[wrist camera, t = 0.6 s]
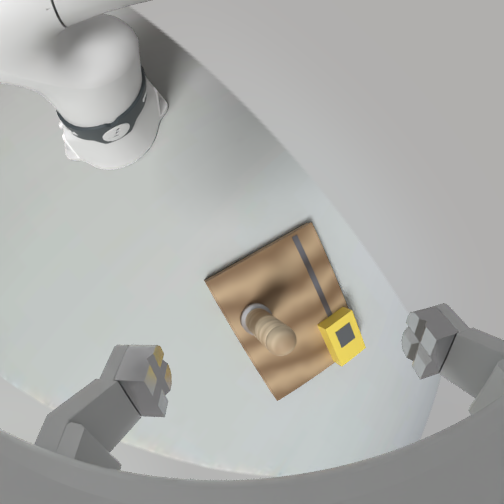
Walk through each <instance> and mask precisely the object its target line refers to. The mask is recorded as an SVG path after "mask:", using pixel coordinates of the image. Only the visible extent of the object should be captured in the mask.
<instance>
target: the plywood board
mask: <svg viewBox="0 0 504 504" xmlns="http://www.w3.org/2000/svg"><path fill="white" fill-rule="evenodd" d="M204 281H205V283H206V284H207V286H208V288H209V290H210V292H211V293H212V295H213V297H214V299H215V300H216V302H217V304H218V306H219V307H220V309H221V311H222V313H223V314H224V316H225V318H226V319H227V321H228V323H229V325H230V326H231V328H232V330H233V331H234V333H235V335H236V336H237V338H238V340H239V341H240V343H241V345H242V346H243V348H244V350H245V351H246V353H247V355H248V356H249V358H250V359H251V361H252V363H253V364H254V366H255V367H256V369H257V371H258V372H259V374H260V375H261V377H262V378H263V380H264V382H265V383H266V385H267V386H268V388H269V389H270V391H271V392H272V394H273V396H274V397H275V398H276V400H277V401H278V400H280V399H281V398H283V397H285V396H286V395H288V394H289V393H291V392H292V391H294V390H295V389H297V388H299V387H300V386H302V385H303V384H305V383H306V382H307V381H309V380H310V379H312V378H313V377H315V376H316V375H318V374H319V373H320V372H322V371H323V370H325V369H326V368H327V367H329V366H330V365H332V364H333V363H334V361H333V359H332V357H331V355H330V352H329V350H328V348H327V346H326V344H325V341H324V339H323V337H322V335H321V333H320V330H319V328H318V326H317V325H318V324H319V323H320V322H322V321H323V320H325V319H326V318H328V317H329V316H331V315H332V314H333V313H334V312H336V311H337V310H339V309H340V308H341V307H345V308H348V306H347V304H346V301H345V299H344V296H343V294H342V291H341V289H340V286H339V284H338V281H337V279H336V277H335V274H334V272H333V269H332V267H331V265H330V262H329V260H328V258H327V255H326V253H325V251H324V248H323V246H322V244H321V242H320V239H319V237H318V235H317V233H316V231H315V228H314V226H313V224H312V222H311V223H306V224H304V225H302V226H300V227H299V228H297V229H295V230H293V231H291V232H290V233H288V234H286V235H284V236H283V237H281V238H279V239H277V240H275V241H274V242H272V243H270V244H268V245H267V246H265V247H263V248H261V249H259V250H258V251H256V252H254V253H252V254H251V255H249V256H247V257H245V258H243V259H242V260H240V261H238V262H236V263H235V264H233V265H231V266H229V267H227V268H226V269H224V270H222V271H220V272H218V273H217V274H215V275H213V276H211V277H210V278H208V279H206V280H204ZM252 303H260V304H263V305H264V306H266V307H267V308H268V309H269V310H270V311H271V313H272V315H273V316H274V317H276V318H277V319H279V320H280V321H281V322H283V323H284V324H286V325H287V326H289V327H290V328H291V329H292V330H293V331H294V332H295V334H296V338H297V342H296V346H295V348H294V349H293V351H292V352H290V353H289V354H287V355H284V356H277V355H274V354H272V353H270V352H269V351H268V350H267V349H266V348H265V346H264V345H263V344H262V343H261V342H260V341H259V340H258V339H257V338H256V337H255V336H254V335H251V334H249V333H247V332H246V331H245V330H244V328H243V327H242V326H241V323H240V315H241V312H242V310H243V309H244V308H245V307H246V306H247V305H249V304H252Z"/></svg>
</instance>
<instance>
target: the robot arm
mask: <svg viewBox="0 0 504 504" xmlns="http://www.w3.org/2000/svg"><path fill="white" fill-rule="evenodd" d="M147 1H151V0H0V84H9V85H14V86H20V87H23V88H27V89H30V90H33V91H35V92H38V93H40V94H41V95H42V96H44V97H45V98H46V99H47V100H48V101H49V102H50V103H51V104H52V105H53V106H54V107H55V109H56V111H57V114H58V116H59V118H60V121H59V127H60V129H63V135H62V137H63V139H64V144H65V153H66V156H67V158H68V159H69V160H72V161H84V162H86V163H88V164H90V165H92V166H94V167H96V168H99V169H105V170H113V169H119V168H123V167H126V166H128V165H130V164H132V163H134V162H135V161H137V160H138V159H140V158H141V157H142V156H143V155H144V154H145V153H146V152H147V151H148V149H149V148H150V147H151V145H152V143H153V142H154V139H155V137H156V134H157V130H158V125H159V122H160V120H161V119H162V117H163V116H164V115H165V113H166V112H167V110H168V104H167V102H166V100H165V99H164V98H163V97H162V96H161V94H160V93H159V92H158V91H157V90H156V88H155V87H154V86H153V85H152V84H151V82H150V81H149V80H148V79H147V78H146V75H145V73H144V69H143V67H142V66H141V63H140V52H139V41H138V38H137V35H136V33H135V32H134V30H133V29H132V28H131V27H130V26H129V25H128V24H126V23H125V22H124V21H122V20H121V19H119V18H117V17H115V16H112V15H107V14H103V13H107V12H110V11H113V10H116V9H120V8H123V7H127V6H130V5H134V4H138V3H142V2H147ZM406 323H407V325H408V327H407V329H406V330H405V331H404V332H403V336H402V349H403V352H404V354H405V356H406V357H407V358H408V359H410V360H412V361H413V364H412V367H413V369H414V370H415V372H416V374H417V375H418V377H419V379H423V378H426V377H429V376H432V375H435V374H438V373H439V374H440V375H441V376H443V377H444V378H446V379H447V380H449V381H450V382H452V383H453V384H455V385H456V386H458V387H459V388H461V389H462V390H464V391H466V392H467V393H468V394H470V395H471V396H473V397H474V398H475V400H474V401H473V403H472V404H471V406H470V407H469V412H470V414H471V416H469V417H467V418H465V419H463V420H462V421H460V422H458V423H456V424H454V425H452V426H450V427H448V428H446V429H444V430H442V431H440V432H438V433H435V434H433V435H431V436H429V437H427V438H424V439H422V440H420V441H417V442H415V443H412V444H410V445H407V446H404V447H402V448H399V449H396V450H394V451H391V452H388V453H385V454H382V455H379V456H376V457H372V458H369V459H366V460H362V461H359V462H355V463H351V464H347V465H343V466H339V467H335V468H330V469H325V470H320V471H315V472H309V473H303V474H297V475H290V476H282V477H273V478H262V479H247V480H193V479H178V478H167V477H157V476H150V475H143V474H137V473H131V472H126V471H121V470H120V469H121V464H120V462H119V461H118V460H117V459H116V458H115V457H114V456H112V455H111V454H110V452H111V451H112V449H113V448H114V447H115V446H116V445H117V444H118V443H119V442H120V441H121V439H122V438H123V437H124V436H125V435H126V434H127V433H128V432H129V431H130V429H131V428H132V427H133V426H134V425H135V424H136V423H137V422H138V420H139V419H140V418H141V416H150V417H165V414H166V409H167V404H168V400H167V398H166V396H165V395H166V394H167V393H168V392H169V391H170V389H171V384H172V381H171V371H170V368H169V365H168V363H166V362H165V361H164V360H162V359H163V355H164V353H163V351H162V349H161V347H160V346H158V345H116V346H115V347H114V349H113V351H112V353H111V355H110V357H109V359H108V361H107V363H106V366H105V368H104V370H103V372H102V374H101V377H100V379H95V380H94V381H92V382H91V383H90V384H88V385H87V386H86V387H84V388H83V389H82V390H80V391H79V392H78V393H76V394H75V395H73V396H72V397H71V398H69V399H68V400H67V401H65V402H64V403H63V404H61V405H60V406H59V407H57V408H56V409H55V410H53V411H52V412H51V413H49V414H48V415H47V417H46V419H45V421H44V423H43V426H42V428H41V430H40V432H39V435H38V437H37V439H36V442H35V444H32V443H29V442H27V441H25V440H22V439H20V438H18V437H16V436H14V435H12V434H10V433H8V432H6V431H4V430H2V429H0V504H504V340H501V339H499V338H497V337H494V336H492V335H489V334H487V333H485V332H482V331H480V330H477V329H475V328H469V327H468V326H467V325H466V324H465V323H464V322H463V321H462V319H461V318H460V317H459V316H458V315H457V314H456V313H455V312H454V311H453V310H452V309H451V308H450V307H449V306H448V305H447V304H444V303H443V304H440V305H436V306H433V307H430V308H426V309H422V310H418V311H415V312H410V314H409V315H408V317H407V320H406Z"/></svg>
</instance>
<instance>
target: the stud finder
mask: <svg viewBox="0 0 504 504" xmlns="http://www.w3.org/2000/svg"><path fill="white" fill-rule="evenodd" d="M317 326H318V328H319V330H320V333H321V335H322V337H323V339H324V341H325V344H326V346H327V348H328V350H329V352H330V355H331V357H332V359H333V361H334V362H336V363H337V364H339V365H340V366H343V365H344V364H346V363H347V362H348V361H350V360H351V359H352V358H353V357H355V356H356V355H357V354H358V353H360V352H361V351H362V350H363V349H365V348H366V347H365V344H364V342H363V339H362V336H361V333H360V330H359V328H358V325H357V322H356V320H355V317H354V314H353V312H352V310H350V309H348V308H345V307H341V308H340V309H339V310H337V311H336V312H334V313H333V314H332V315H331V316H329V317H328V318H326V319H325V320H323V321H322V322H320V323H319V324H318V325H317Z"/></svg>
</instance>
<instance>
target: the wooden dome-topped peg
mask: <svg viewBox="0 0 504 504" xmlns="http://www.w3.org/2000/svg"><path fill="white" fill-rule="evenodd" d="M240 323H241V326H242V327H243V328H244V330H245V331H246V332H247V333H249V334H251V335H254V336H255V337H256V338H257V339H258V340H259V341H260V342H261V343H262V344H263V345H264V346H265V348H266V349H267V350H268V351H269V352H270V353H272V354H274V355H277V356H284V355H287V354H289V353H290V352H292V351H293V349H294V348H295V346H296V342H297V338H296V334H295V332H294V331H293V330H292V329H291V328H290V327H289V326H287V325H286V324H284V323H283V322H281V321H280V320H279V319H277V318H276V317H274V316H273V315H272V313H271V311H270V310H269V309H268V308H267V307H266V306H264V305H263V304H260V303H252V304H249V305H247V306H246V307H245V308H244V309H243V310H242V312H241V315H240Z"/></svg>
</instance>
